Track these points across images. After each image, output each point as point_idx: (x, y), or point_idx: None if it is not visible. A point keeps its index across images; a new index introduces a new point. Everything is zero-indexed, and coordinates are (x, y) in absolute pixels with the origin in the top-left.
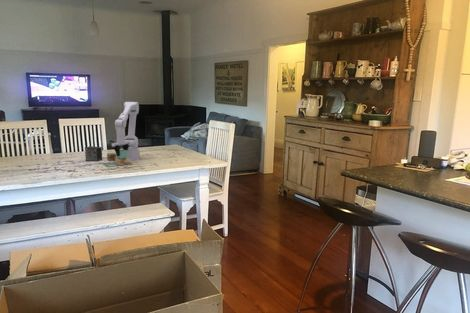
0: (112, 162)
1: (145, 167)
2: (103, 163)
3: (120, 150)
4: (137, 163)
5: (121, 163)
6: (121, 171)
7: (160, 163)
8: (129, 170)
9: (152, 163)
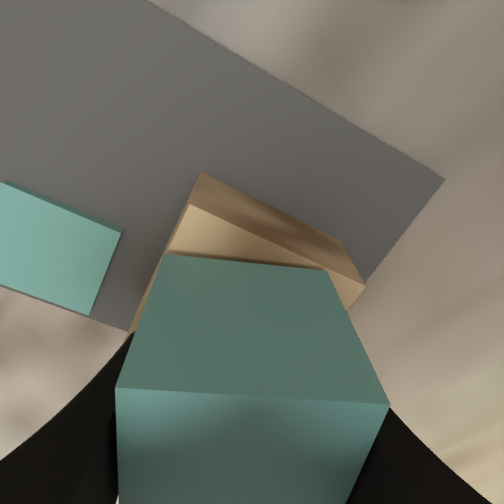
0: (229, 52)
1: None
2: None
3: (179, 497)
4: (389, 355)
5: None
6: (8, 452)
7: None
8: None
9: (444, 451)
